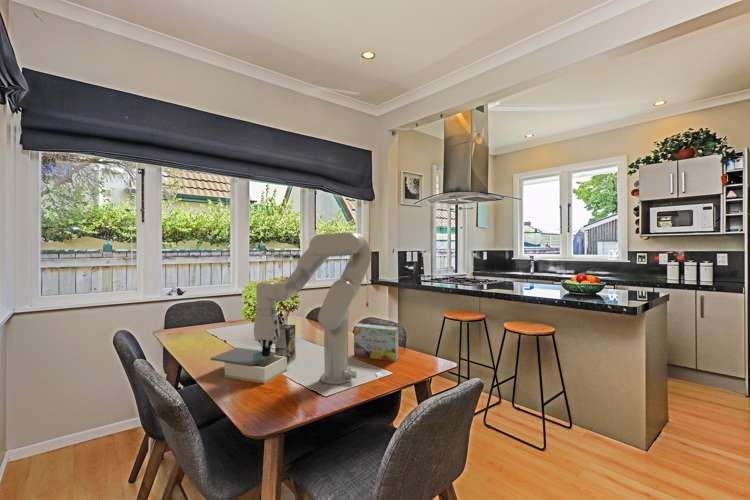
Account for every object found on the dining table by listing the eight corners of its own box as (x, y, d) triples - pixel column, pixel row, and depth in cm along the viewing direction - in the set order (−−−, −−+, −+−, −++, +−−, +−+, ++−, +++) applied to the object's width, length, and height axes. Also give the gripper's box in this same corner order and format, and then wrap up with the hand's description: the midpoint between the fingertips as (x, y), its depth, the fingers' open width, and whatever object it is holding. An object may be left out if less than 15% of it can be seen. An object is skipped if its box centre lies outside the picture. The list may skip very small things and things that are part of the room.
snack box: (353, 356, 181) (353, 325, 180) (358, 353, 186) (358, 322, 186) (395, 362, 173) (395, 329, 173) (399, 358, 178) (399, 326, 178)
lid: (275, 354, 164) (275, 345, 164) (250, 366, 150) (250, 356, 150) (237, 349, 172) (237, 341, 172) (210, 359, 157) (210, 350, 157)
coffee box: (288, 364, 170) (287, 329, 169) (274, 363, 171) (274, 328, 170) (296, 358, 179) (295, 324, 178) (283, 357, 180) (283, 323, 179)
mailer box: (287, 370, 162) (286, 357, 162) (264, 383, 148) (264, 368, 148) (249, 365, 169) (249, 351, 169) (224, 376, 155) (224, 362, 155)
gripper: (286, 311, 156) (287, 355, 157) (257, 308, 162) (257, 351, 163) (275, 315, 149) (276, 360, 150) (245, 312, 155) (245, 356, 156)
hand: (266, 355), depth 156 cm, fingers closed
